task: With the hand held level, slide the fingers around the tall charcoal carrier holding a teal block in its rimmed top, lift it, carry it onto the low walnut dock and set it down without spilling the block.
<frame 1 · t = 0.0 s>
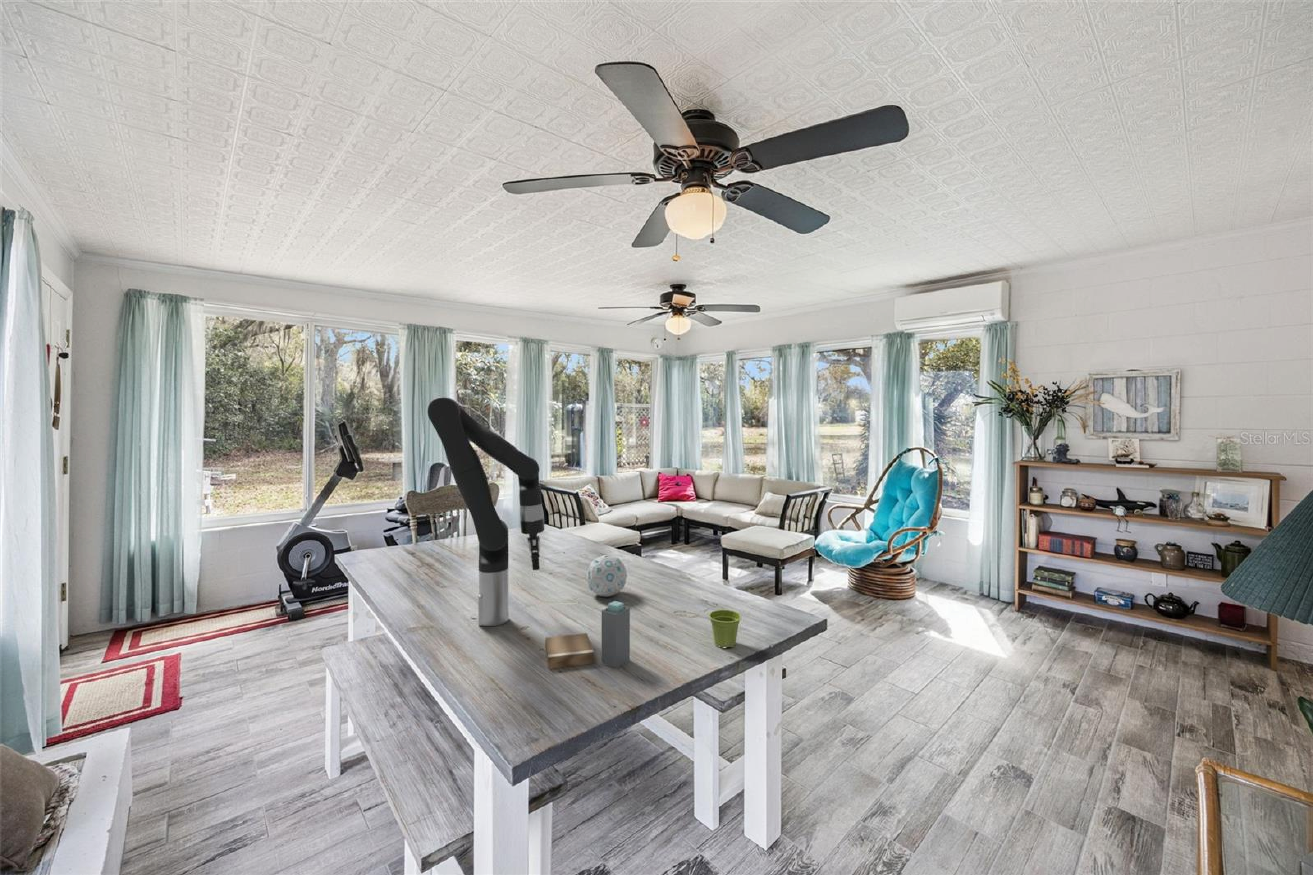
hand: (535, 565, 170), 17 cm above the table, tool pointing down, fingers open, 8 cm apart
puzzle ball: (606, 595, 193), on the table
plant pot: (724, 645, 150), on the table
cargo: (615, 614, 139), point 13 cm above the table, touching carrier
dock: (568, 655, 143), on the table
carrier: (615, 661, 140), on the table, touching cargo
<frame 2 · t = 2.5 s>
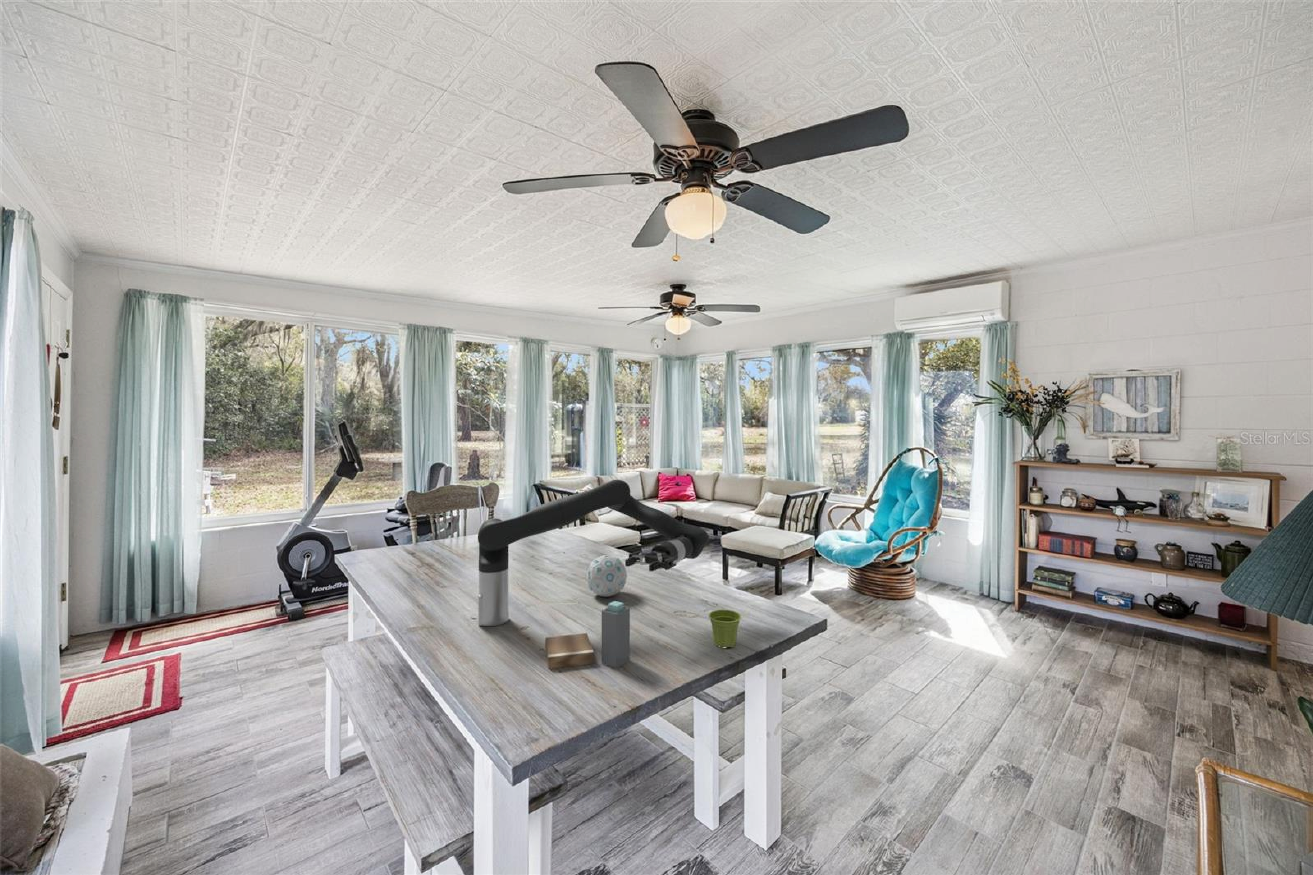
hand: (638, 565, 147), 24 cm above the table, tool horizontal, fingers open, 8 cm apart
nothing on the table moved.
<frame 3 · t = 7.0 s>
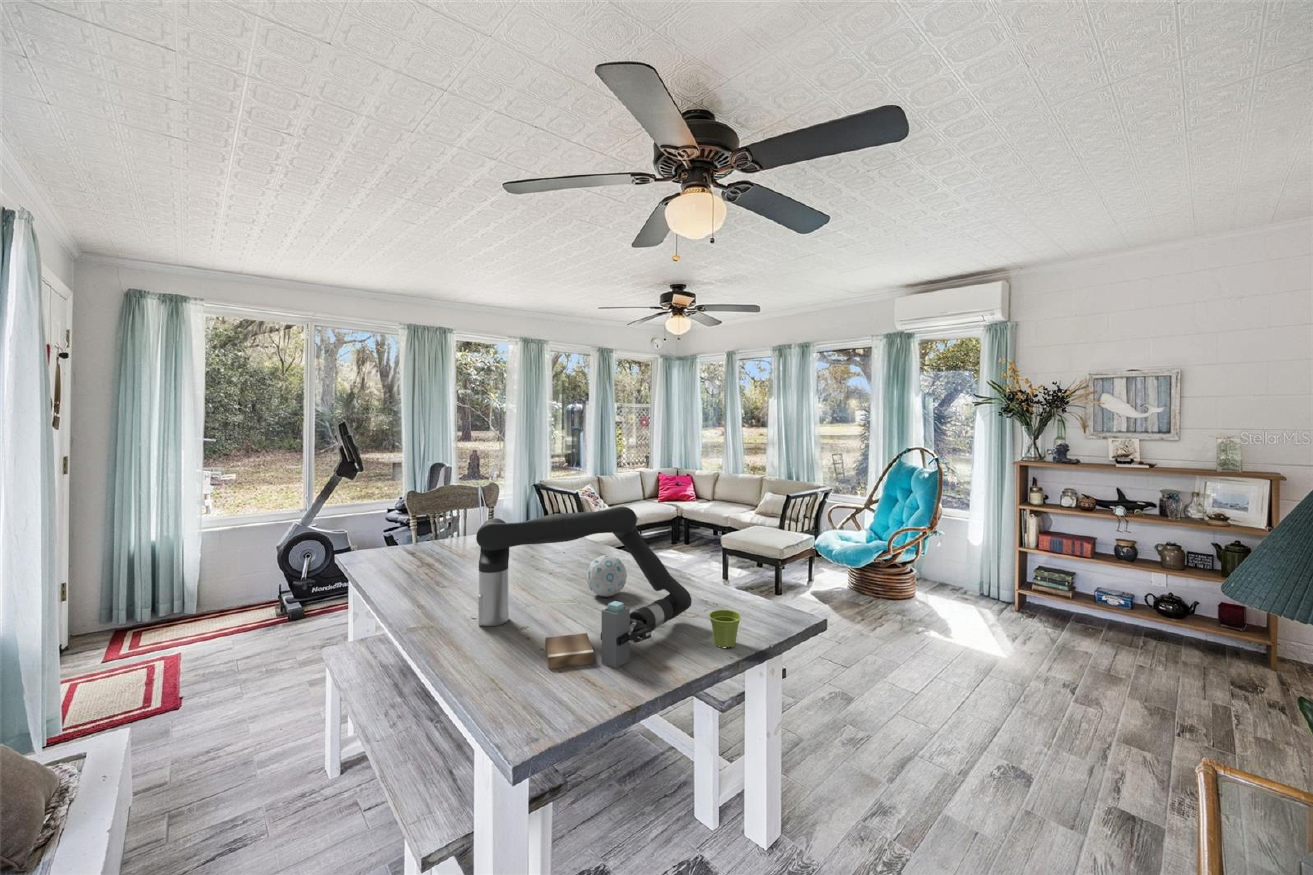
hand: (609, 639, 137), 7 cm above the table, tool horizontal, fingers closed on carrier, 5 cm apart
carrier: (615, 661, 140), on the table, touching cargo, gripper
everything else where it was.
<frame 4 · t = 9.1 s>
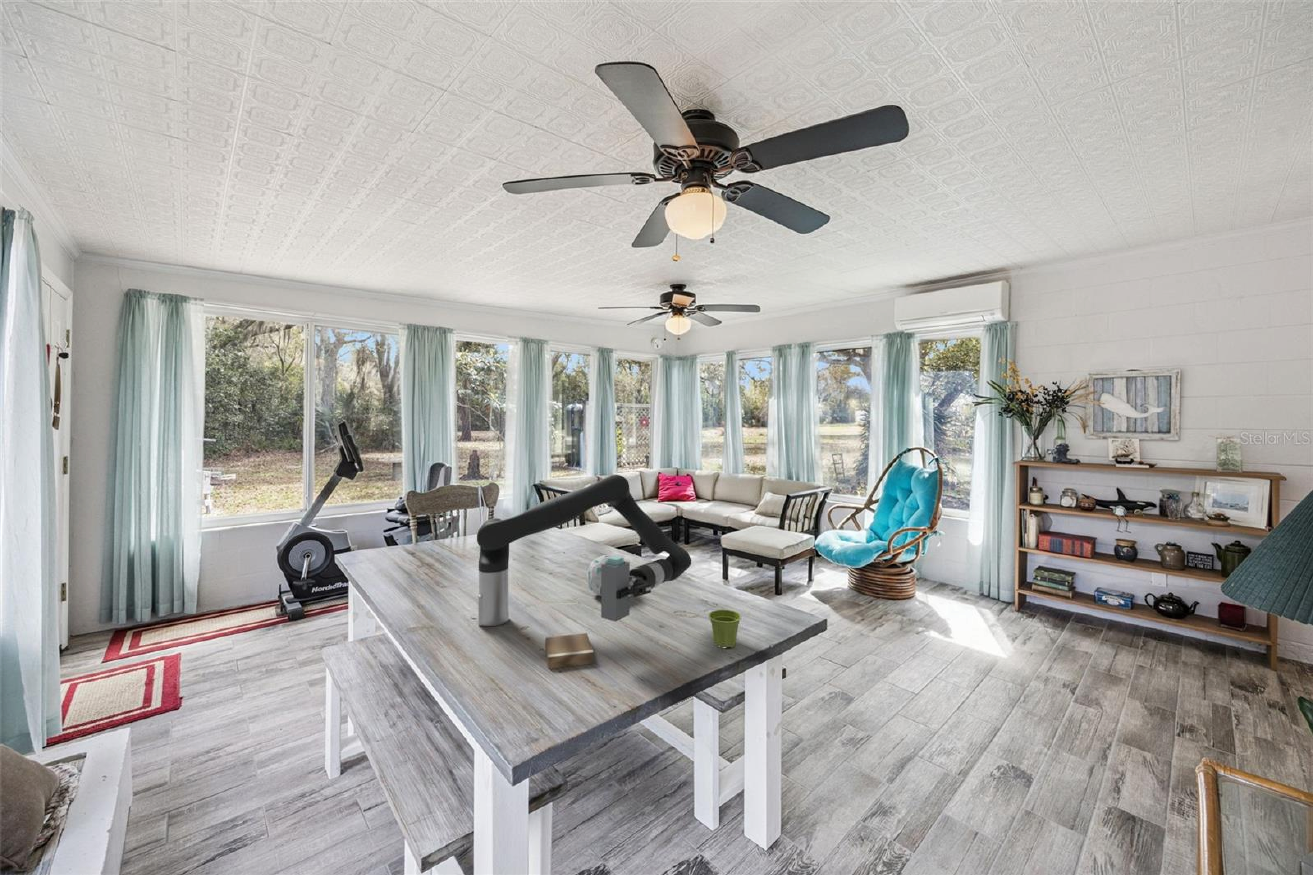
hand: (609, 593, 137), 20 cm above the table, tool horizontal, fingers closed on carrier, 5 cm apart
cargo: (615, 568, 139), point 26 cm above the table, touching carrier
carrier: (615, 616, 139), point 13 cm above the table, touching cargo, gripper
everything else where it was.
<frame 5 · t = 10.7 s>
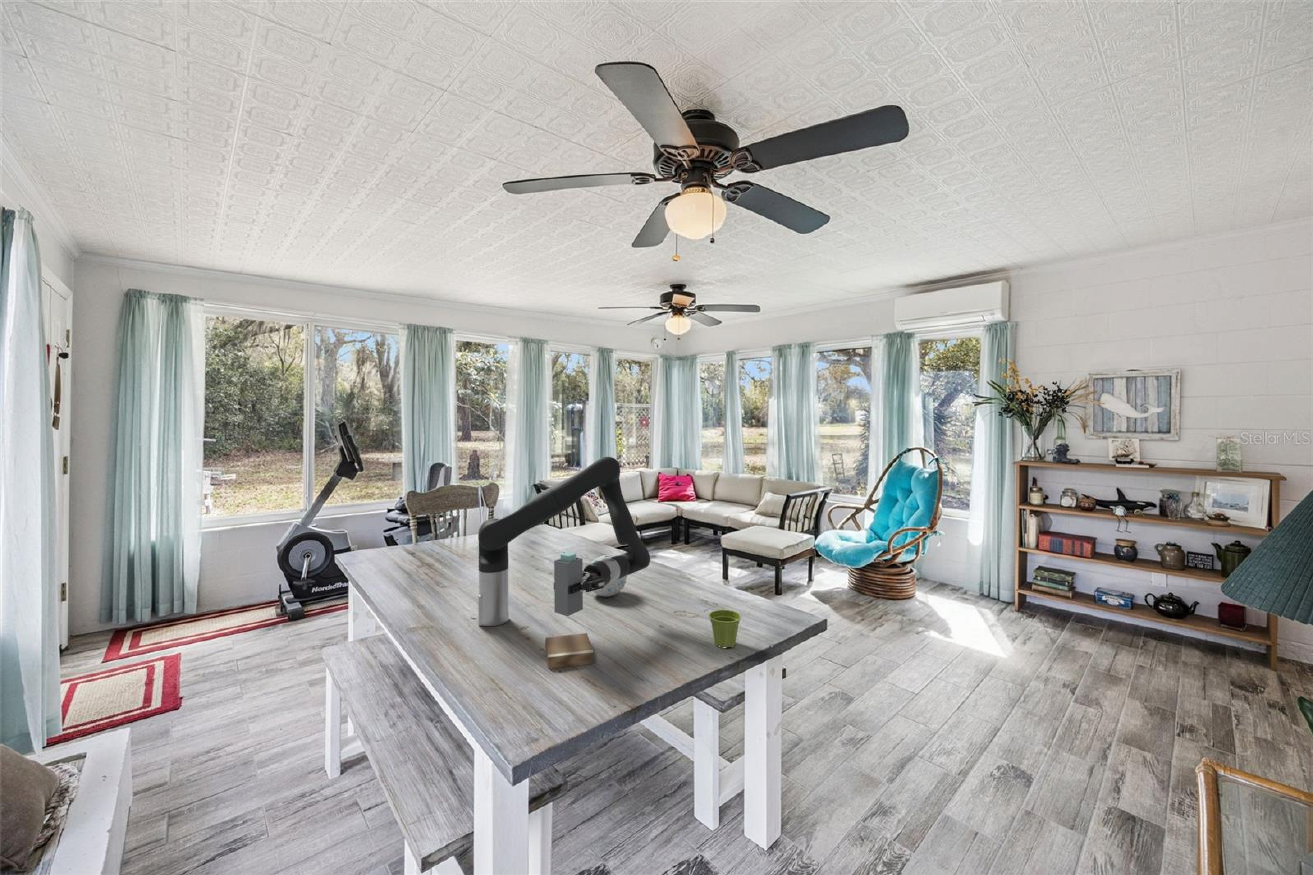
hand: (561, 588, 140), 20 cm above the table, tool horizontal, fingers closed on carrier, 5 cm apart
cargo: (568, 564, 142), point 26 cm above the table, touching carrier
carrier: (568, 610, 143), point 13 cm above the table, touching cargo, gripper
everything else where it was.
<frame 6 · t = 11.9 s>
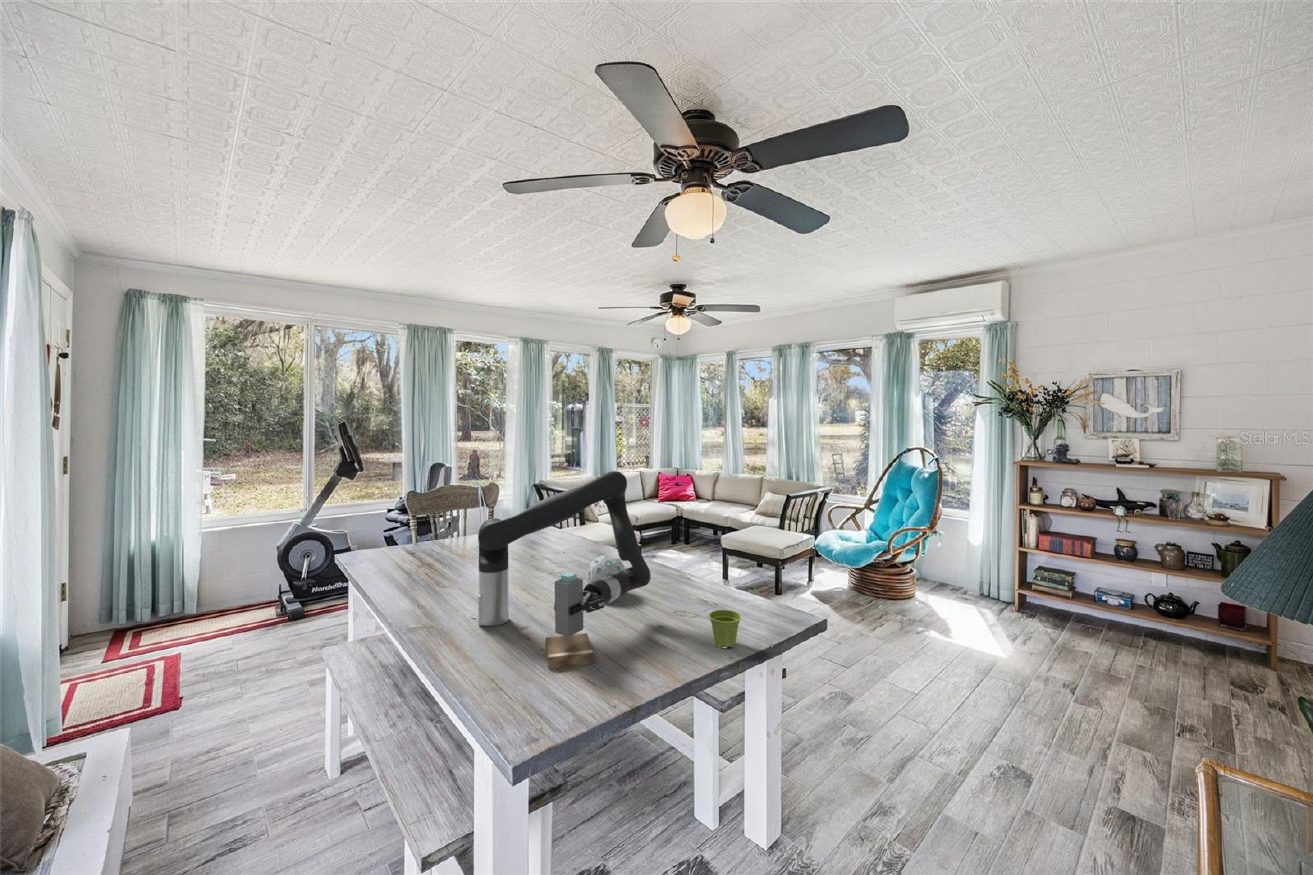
hand: (562, 609, 141), 14 cm above the table, tool horizontal, fingers closed on carrier, 5 cm apart
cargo: (568, 585, 143), point 20 cm above the table, touching carrier
carrier: (569, 631, 143), point 7 cm above the table, touching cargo, gripper
everything else where it was.
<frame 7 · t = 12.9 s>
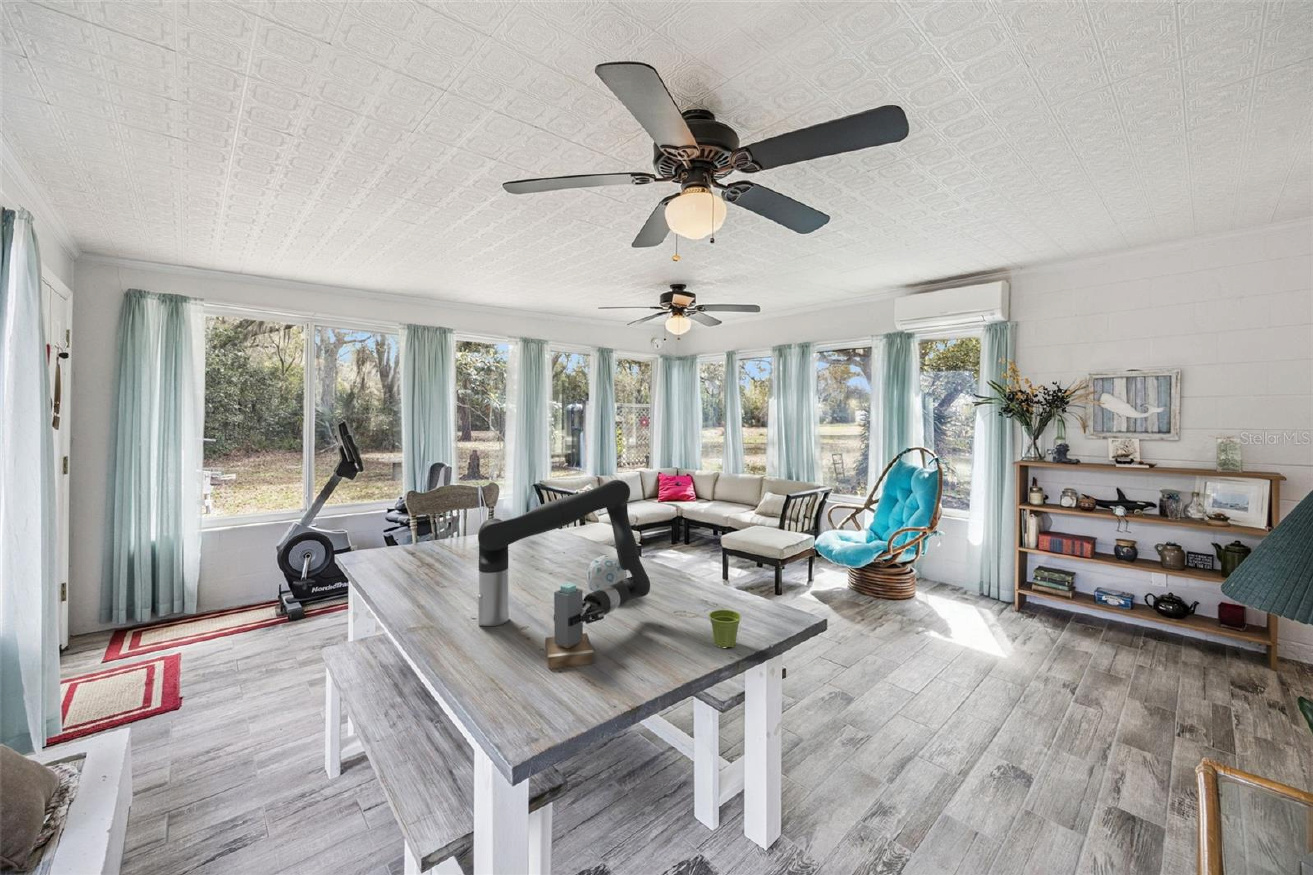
hand: (562, 620, 141), 11 cm above the table, tool horizontal, fingers closed on carrier, 5 cm apart
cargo: (568, 596, 143), point 17 cm above the table, touching carrier
carrier: (568, 642, 143), point 4 cm above the table, touching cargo, gripper
everything else where it was.
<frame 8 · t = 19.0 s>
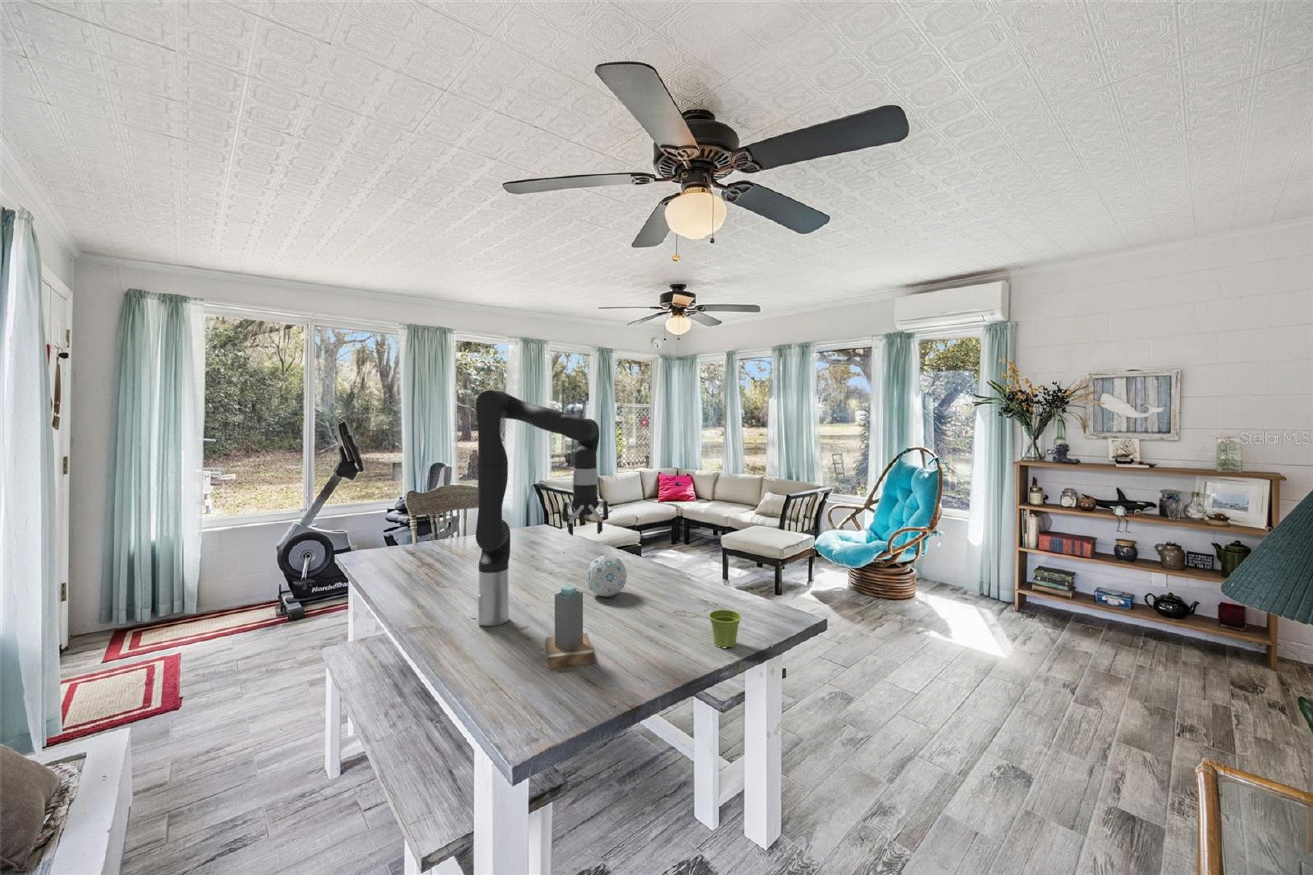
hand: (585, 534, 160), 30 cm above the table, tool pointing down, fingers open, 8 cm apart
carrier: (569, 644, 143), point 3 cm above the table, touching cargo, dock
at the end: carrier inside the target area on the dock (0.1 cm from its centre), point 3.0 cm above the dock's base; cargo 0.0 cm off-centre on the carrier, point 13.0 cm above the carrier's base; carrier tilted 0° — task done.
